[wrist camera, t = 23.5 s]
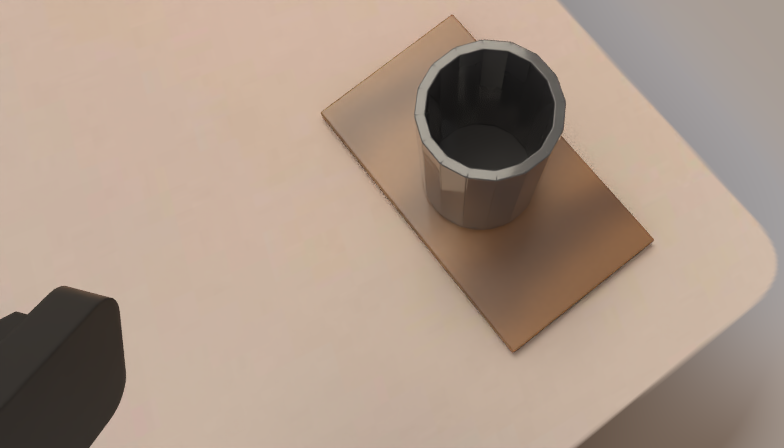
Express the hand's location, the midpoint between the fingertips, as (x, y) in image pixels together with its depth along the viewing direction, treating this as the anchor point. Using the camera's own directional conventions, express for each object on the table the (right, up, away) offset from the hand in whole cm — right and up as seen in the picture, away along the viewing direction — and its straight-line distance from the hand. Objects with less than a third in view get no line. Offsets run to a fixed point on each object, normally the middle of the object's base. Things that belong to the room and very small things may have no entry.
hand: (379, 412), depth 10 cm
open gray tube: (+5, +5, +28) cm, 28 cm away
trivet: (+5, +5, +28) cm, 29 cm away
